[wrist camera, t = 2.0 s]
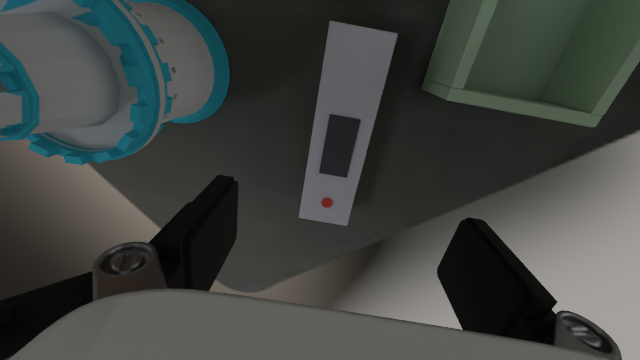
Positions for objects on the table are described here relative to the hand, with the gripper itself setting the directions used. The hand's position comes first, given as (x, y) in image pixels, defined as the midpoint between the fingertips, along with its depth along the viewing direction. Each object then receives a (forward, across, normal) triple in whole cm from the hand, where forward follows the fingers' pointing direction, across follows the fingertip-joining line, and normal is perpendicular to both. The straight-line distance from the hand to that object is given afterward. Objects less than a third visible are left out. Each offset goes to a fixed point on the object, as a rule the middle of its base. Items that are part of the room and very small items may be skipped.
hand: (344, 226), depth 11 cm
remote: (+14, 0, 0) cm, 14 cm away
